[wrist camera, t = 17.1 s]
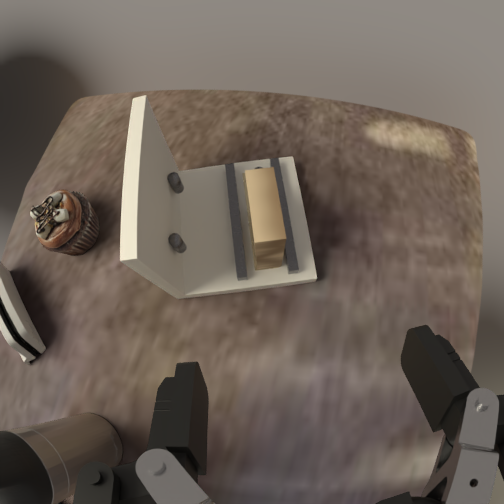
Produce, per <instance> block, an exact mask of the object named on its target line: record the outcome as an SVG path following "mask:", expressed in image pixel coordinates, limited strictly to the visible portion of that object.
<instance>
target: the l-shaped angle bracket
mask: <svg viewBox="0 0 504 504" xmlns="http://www.w3.org/2000/svg"><path fill="white" fill-rule="evenodd" d="M256 167H262V168H270V167H274V172H275V177H276V183H277V188H278V194H279V199H280V205H281V211H282V216H283V222H284V228H285V234H286V243H285V249H284V255H283V260H282V266H281V267H273V268H266V269H258V270H257V264H256V256H255V249H254V241H253V234H252V226H251V219H250V211H249V202H248V194H247V185H246V176H245V170H253V169H255V168H256ZM120 261H121V262H123V263H124V264H125V265H127V266H128V267H130V268H131V269H133V270H134V271H136V272H137V273H139V274H140V275H142V276H143V277H145V278H146V279H148V280H149V281H151V282H152V283H154V284H155V285H157V286H158V287H160V288H161V289H163V290H164V291H166V292H168V293H169V294H171V295H172V296H174V297H175V298H177V299H182V298H192V297H201V296H209V295H218V294H226V293H235V292H243V291H251V290H259V289H266V288H274V287H281V286H289V285H296V284H303V283H310V282H315V281H316V279H317V275H316V269H315V263H314V258H313V252H312V247H311V242H310V236H309V231H308V226H307V221H306V216H305V211H304V206H303V201H302V196H301V192H300V187H299V182H298V178H297V173H296V169H295V164H294V160H293V157H283V158H273V159H264V160H255V161H247V162H239V163H231V164H224V165H217V166H210V167H204V168H197V169H191V170H185V171H179V169H178V167H177V165H176V163H175V161H174V158H173V156H172V154H171V152H170V149H169V147H168V145H167V142H166V140H165V138H164V136H163V133H162V131H161V129H160V127H159V124H158V122H157V120H156V117H155V115H154V113H153V110H152V108H151V106H150V103H149V101H148V99H147V96H141V97H137V98H133V102H132V109H131V115H130V123H129V130H128V138H127V147H126V157H125V167H124V179H123V192H122V209H121V235H120Z"/></svg>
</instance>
